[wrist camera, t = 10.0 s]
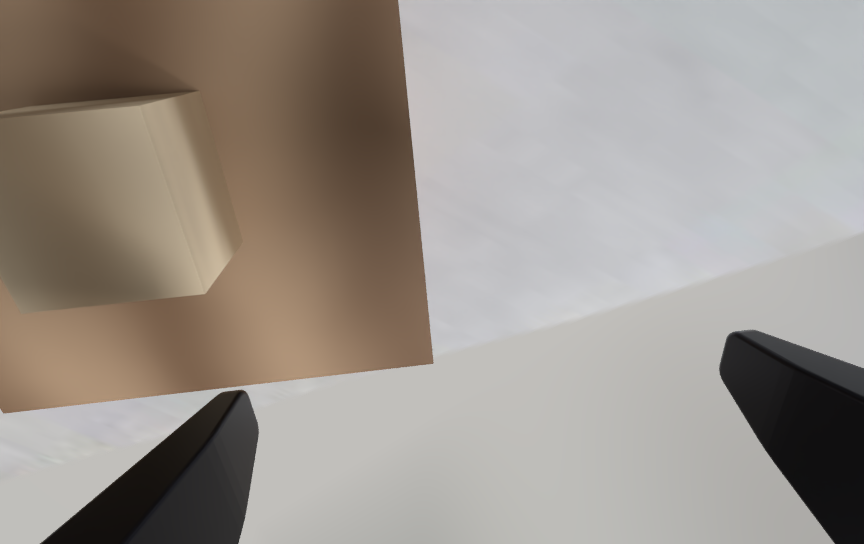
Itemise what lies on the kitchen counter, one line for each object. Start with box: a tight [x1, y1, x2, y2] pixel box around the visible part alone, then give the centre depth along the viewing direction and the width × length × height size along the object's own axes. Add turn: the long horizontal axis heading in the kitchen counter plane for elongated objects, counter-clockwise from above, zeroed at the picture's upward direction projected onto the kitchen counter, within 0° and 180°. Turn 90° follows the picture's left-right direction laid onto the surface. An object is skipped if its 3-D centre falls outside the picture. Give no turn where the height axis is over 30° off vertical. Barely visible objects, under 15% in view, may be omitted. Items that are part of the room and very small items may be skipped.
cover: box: [0, 0, 433, 413], centre depth 11 cm, size 14×14×4 cm
